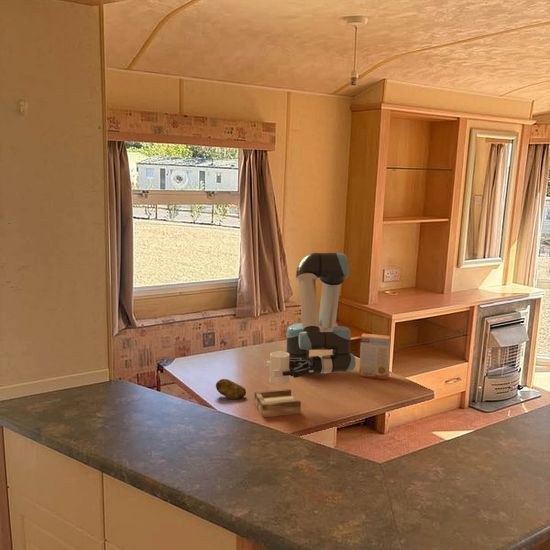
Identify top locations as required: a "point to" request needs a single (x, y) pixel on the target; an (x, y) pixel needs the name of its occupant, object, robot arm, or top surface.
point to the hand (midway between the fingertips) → (270, 368)
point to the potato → (230, 389)
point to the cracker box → (375, 356)
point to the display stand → (276, 403)
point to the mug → (279, 367)
